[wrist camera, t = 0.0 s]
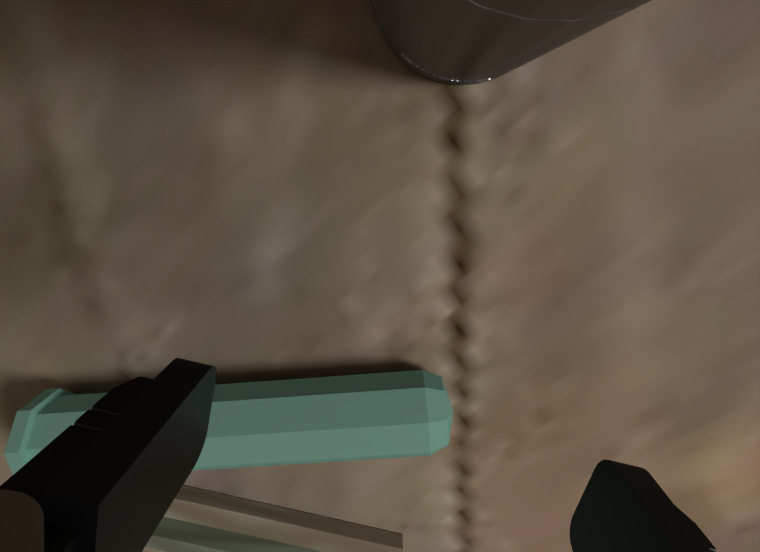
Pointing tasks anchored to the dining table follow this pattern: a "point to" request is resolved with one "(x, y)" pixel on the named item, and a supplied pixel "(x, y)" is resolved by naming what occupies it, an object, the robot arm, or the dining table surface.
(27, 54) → the dining table surface
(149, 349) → the dining table surface
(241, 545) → the rail
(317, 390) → the teal green cylinder
